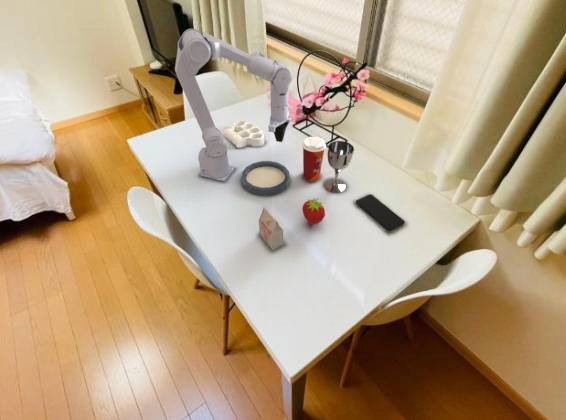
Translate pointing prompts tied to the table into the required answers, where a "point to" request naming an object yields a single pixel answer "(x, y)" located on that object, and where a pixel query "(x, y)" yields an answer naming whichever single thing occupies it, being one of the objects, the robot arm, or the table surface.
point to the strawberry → (313, 211)
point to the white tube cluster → (244, 134)
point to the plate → (265, 178)
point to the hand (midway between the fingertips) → (279, 140)
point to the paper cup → (312, 157)
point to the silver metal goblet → (338, 163)
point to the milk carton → (270, 230)
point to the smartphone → (380, 212)
